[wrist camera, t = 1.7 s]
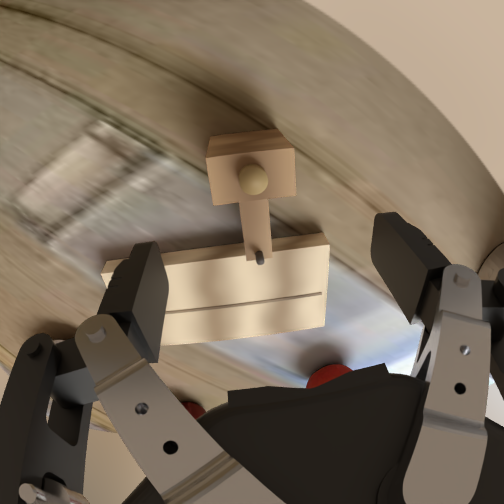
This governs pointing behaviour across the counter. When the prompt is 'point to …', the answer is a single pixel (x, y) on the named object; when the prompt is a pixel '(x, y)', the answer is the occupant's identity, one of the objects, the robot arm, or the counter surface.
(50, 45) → the counter surface
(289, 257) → the board
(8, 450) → the robot arm
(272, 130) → the block
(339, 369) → the apple
